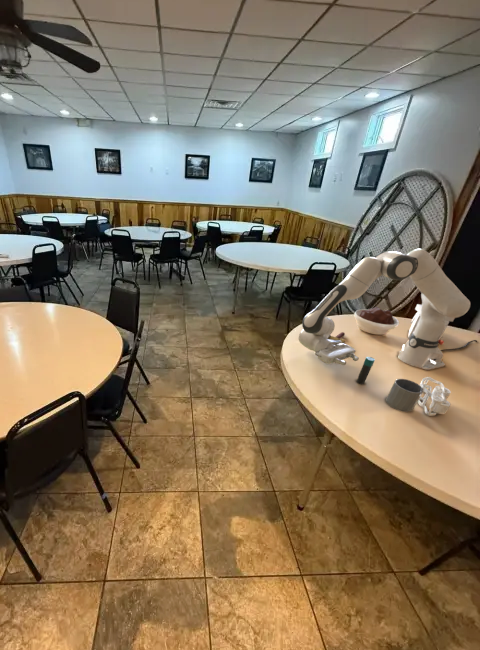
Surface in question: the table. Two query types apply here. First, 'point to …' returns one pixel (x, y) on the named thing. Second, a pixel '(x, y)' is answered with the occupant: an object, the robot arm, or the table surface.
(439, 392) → the white cage
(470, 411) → the table surface
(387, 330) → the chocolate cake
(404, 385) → the pen pot
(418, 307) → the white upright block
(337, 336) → the gavel
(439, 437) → the table surface
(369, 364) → the marker pen
